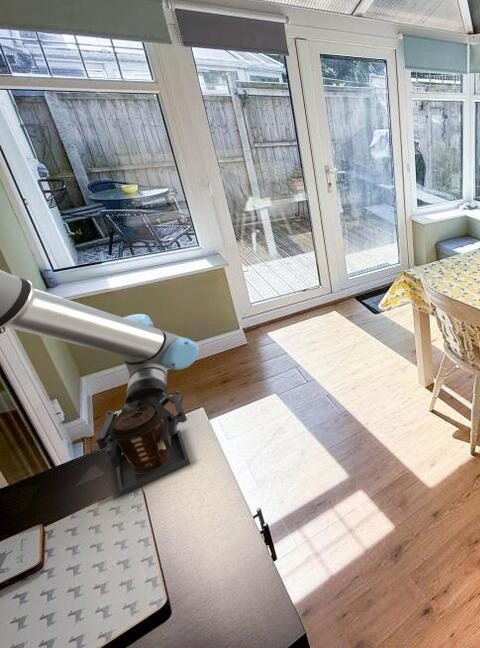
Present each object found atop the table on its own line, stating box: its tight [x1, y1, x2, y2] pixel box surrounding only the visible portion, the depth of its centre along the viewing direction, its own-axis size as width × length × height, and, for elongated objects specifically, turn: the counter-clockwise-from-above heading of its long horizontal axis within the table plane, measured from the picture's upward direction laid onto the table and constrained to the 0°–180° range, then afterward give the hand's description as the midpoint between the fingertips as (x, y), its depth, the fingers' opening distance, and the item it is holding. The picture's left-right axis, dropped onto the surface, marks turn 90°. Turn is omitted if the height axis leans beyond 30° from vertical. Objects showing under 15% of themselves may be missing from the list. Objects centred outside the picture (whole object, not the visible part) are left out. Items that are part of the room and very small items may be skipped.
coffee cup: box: [110, 406, 170, 474], centre depth 89 cm, size 9×8×13 cm
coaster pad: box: [115, 429, 191, 497], centre depth 91 cm, size 12×12×2 cm
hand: (141, 452), depth 85 cm, fingers closed on coffee cup, 7 cm apart
